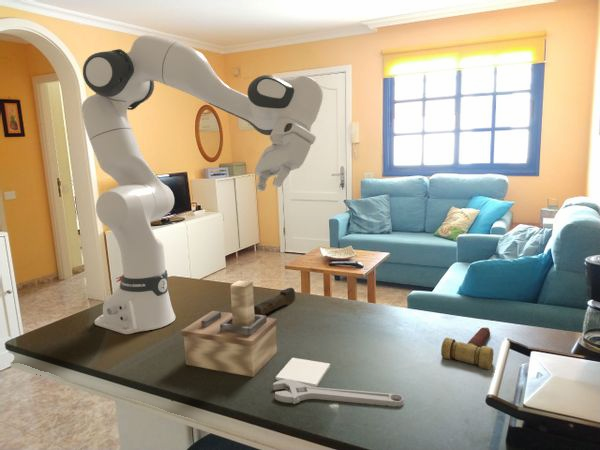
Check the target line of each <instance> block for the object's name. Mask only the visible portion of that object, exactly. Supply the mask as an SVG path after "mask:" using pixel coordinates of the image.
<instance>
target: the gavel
mask: <svg viewBox="0 0 600 450" xmlns="http://www.w3.org/2000/svg"><path fill="white" fill-rule="evenodd" d="M490 335H491V331H490V328H489V327H481V328H480V329H479V330H477V332H475V334H474V335H473V336H472V337H471V339H470V340H468V342H467V343H466V342H461V341H456V339H455V338H450V337H445V338H444V339H443V341H442V343H441V348H440V349H441V350H440V354H441V357H442V359H445V360H448V361H449V360H450V361H451V360H452V359H454V360H456V361H460V362H464V363H467V364H471V365H478V367H479V368H481V369H485V370H490V369H491V367H492V366H493V362H494V348H493V347H490V346H486V345H483V344H484V343H485V342H486V340H487V339H489V337H490Z"/></svg>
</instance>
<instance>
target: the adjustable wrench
mask: <svg viewBox="0 0 600 450" xmlns="http://www.w3.org/2000/svg"><path fill="white" fill-rule="evenodd" d="M272 385H273V391H275V392H274V397H275V400H277V401H278V402H282V403H286V404H287V403H288V404H290V403H291V404H293V405H296V404H298V403H300V402H301V401H306V400H312V399H313V400H326V401H336V402H344V403H357V404H365V403H366V404H365V405H375V404H376V405H375V406H377V405H378V406H385V405H388V407H396V406H398V407H399V408H400V407H402V406H403V405H404V397H403V395H401V394H398V393H389V392H377V391H365V390H352V389H341V388H329V387H327V388H326V387H318V386H317V387H313V386H309V385H305V384H303V383H300V382H298V381H295V380H291V379H283V380H276V381H275V382H273V384H272ZM284 389H285V390H284ZM276 390H278V391H276ZM279 390H281V391H279Z"/></svg>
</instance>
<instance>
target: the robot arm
mask: <svg viewBox="0 0 600 450" xmlns="http://www.w3.org/2000/svg"><path fill="white" fill-rule="evenodd" d="M82 77H83V79H84V83H85V84H86V86H88V88H89V89H91V91H92V92H94V93H95V94H92V95H90V96H88V97H87V98H85V100H83V102H82V103H81V113H82V114H81V115H82V119H83V124H84V128H85V130H86V131H85V132H86V134H87V136H88V140H89V142H90V145H91V148H92V150H93V153H94V156H95V157H96V160H97V162H98V165H99V168H100V169H101V170H102V171H103V172H104V173H105V174H107V175H108V176H110V177H111V178H112V179H113V180H114V181H115V182H116V183H117V184H118V186H115V187H112V188H110V189H109V190H106V191H104V192H103V193H102V194H100V195H99V196H98V198H97V200H96V202H95V203H96V204H95V212H96V215H97V218H98V220H99V221H100V222H101V224H103V225H104V226H105V227H107V228H108V229H109V230H110V231H111V232H112V235H114V238H115V239H116V241H117V244H118V247H119V251H120V257H121V263H122V264H121V265H122V271H123V272H122V273H123V274H122V275H120V276H119V277H116V278H115V280H116V281H115V282H116V283H118V282H119V288H118V289H117V290H115V291H114V292H113V293H112V294H111V295H110V296H108V298H106V299H105V300H104V302H103V305H102V314H101V315H99V316H98V317H96V318H95V320H94V325H96V326H98V327H101V328H104V329H108V330H111V331H114V332H117V333H120V334H123V335H130V334H134V333H139V332H147V331H150V330H157V329H161V328H163V327H166V326H168V325H169V324H172V323H174V321H175V320H176V318H177V317H176V314H175V312H174V309H173V306H172V302H171V296H170V294H169V289H168V288H169V277H168V276H169V275H168V271H167V270H166V263H165V262H166V261H165V250H164V249H165V248H164V244H163V242H162V241H161V240H159V239H158V238H157V237H156V236H155V233H154V232H153V231H154V230H153V229H152V225H151V222H153V221H157V220H160V219H162V218H163V217H164V216H166V215H168V214H169V213H170V212H171V211H172V209H174V206H175V196H174V193H173V191H172V190H171V188H170V187H169V186H168V185H167V184H165V183H163V181H162V180H160V179H159V178H158V177H157V175H156V174H155V172H154V171H153V170H152V168H151V166H150V165H149V164H148V162H147V161H146V159H145V156H144V155H143V154H142V151H141V148H140V146H139V144H138V141H137V138H136V137H135V134H134V131H133V129H132V126H131V123H130V121H129V119H128V114H127V113H128V111H133V110H135V109H137V107H138V106H139V105H141V104H142V103H145V102H146V101H147V100H149V99H150V97H151V96H152V95H153V93H154V90H155V82H157V83H160V84H162V85H165V86H168V87H171V88H174V89H175V90H178V91H181V92H184V93H185V94H188V95H191V96H193V97H195V98H197V99H199V100H201V101H203V102H205V103H206V104H209V105H211V106H213V107H215V108H217V109H219V110H222V111H224V112H225V113H228V114H230V115H232V116H235V117H236V118H238V119H241V120H244V121H245V122H246V123H248V124H249V125H251V126H252V127H253V129H255V130H256V132H258V133H260V134H261V135H264V136H269V140H270V141H271V145H269V146H267V147H266V148H265V149H264V150H263V151H262V153H261V155H260V158H259V159H258V161H257V163H256V165H255V167H254V174H255V175H257V176H258V180H257V181H258V182H257V185H256V188H255V189H256V190H257V191H259V192H263V191H265V190H266V187H267V181H268V180H269V178H271V177H274V176H275V177H274V179H273V181H272V186H274V187H276V188H280V187H282V185H283V183H284V181H285V180H286V179H287V177H288V176H289V175H290V173H291V171H294V170H298V169H299V168H301V166H302V165H303V164H304V163H305V160H306V158H307V156H308V154H309V152H310V150H311V147H312V145H313V144H315V141H316V139H317V138H316V137H317V136H316V135H315V134H314V133H312V132H311V130H312V125H313V124H314V123H315V121H316V119H317V117H318V114H319V112H320V109H321V106H322V103H323V99H324V98H323V96H324V93H323V89H322V87H321V86H320V84H319V83H318V82H317V81H316V80H315V79H313V78H312V77H310V76H308V75H299V76H296V77H291V78H284V77H283V78H282V77H277V76H274V75H270V74H267V75H266V74H264V75H260V76H257V77H256V78H254V79H253V80H252V81H251V82H250V83H249V85H248V87H247V95H246V94H244V93H242V92H241V91H238V90H236V89H233V88H232V87H231V86H228V85H227V84H226V83H225V82H223V81H222V80H221V78H220V77H219V76H218V74H217V73H216V72H215V70H214V69H213V68H212V66H211V64H210V62H209V60H207V58H206V56H205V55H204V54H203V53H202V52H200V51H199V50H197V49H195V48H194V47H191V46H189V45H187V44H184V43H182V42H179V41H176V40H173V39H169V38H165V37H161V36H156V35H155V36H154V35H150V34H149V35H147V34H145V35H140V36H139V37H137V38H136V39H135V40H134V41H133V43H132V45H131V47H130V50H129V51H128V52H125V50H122V49H120V48H118V49H113V50H108V51H107V50H106V51H100V52H95V53H93V54H91V55H90V56H89V57H87V58H86V59H85V61H84V63H83V67H82Z"/></svg>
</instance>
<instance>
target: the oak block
mask: <svg viewBox="0 0 600 450" xmlns="http://www.w3.org/2000/svg"><path fill="white" fill-rule="evenodd" d="M253 283H254V282H253V281H247V280H237V281H235V282H234V283H232V284H230V285H229V286H230V300H231V301H230V303H231V313H232V321H233V325H239V326H246V327H250V326H251V325H252V324H253V323H255V316H254V306H255V300H254V298H255V297H254V284H253Z"/></svg>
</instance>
